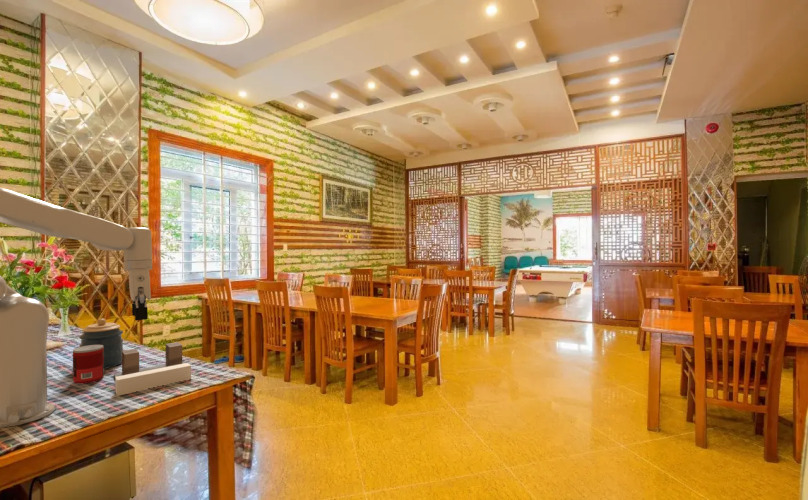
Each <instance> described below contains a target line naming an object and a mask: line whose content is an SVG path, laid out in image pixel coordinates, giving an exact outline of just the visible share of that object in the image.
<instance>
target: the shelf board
mask: <svg viewBox="0 0 808 500" xmlns="http://www.w3.org/2000/svg"><path fill="white" fill-rule="evenodd" d="M187 379H192V364H190V363H188V362H185V363H184V364H179V365H174V366H169V367H164V368H158V369H153V370H148V371H143V372H138V373H133V374H127V375H122V376H117V377H115V378H114V381H115V386H114V388H115V394H116V396H117V397H118V396H123V395H126V394H131V393H132V394H133V393H135V392H136V391H137V392H140V390H141V391H145V390H144V389H146V390H149V389H148V388H150V389H154V388H153V387H155V388H158V387H157V386H159V387H163V386H162V385H164V386H167V384H168V385H171V384H170V383H173V384H175V383H174V382H177V383H179V382H178V381H182V382H184V381H183V380H186V381H188V380H187Z"/></svg>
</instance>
